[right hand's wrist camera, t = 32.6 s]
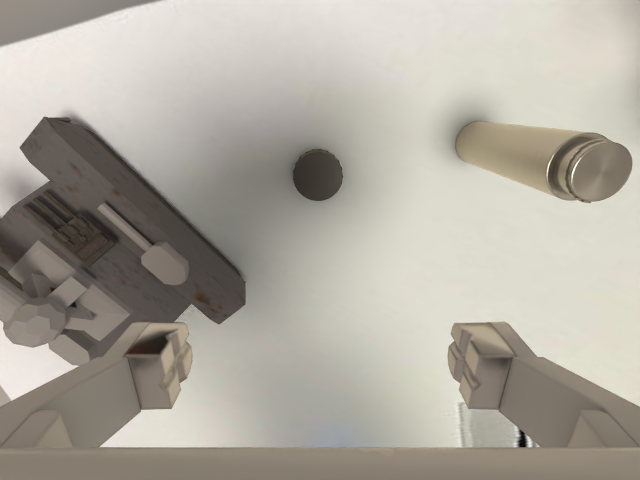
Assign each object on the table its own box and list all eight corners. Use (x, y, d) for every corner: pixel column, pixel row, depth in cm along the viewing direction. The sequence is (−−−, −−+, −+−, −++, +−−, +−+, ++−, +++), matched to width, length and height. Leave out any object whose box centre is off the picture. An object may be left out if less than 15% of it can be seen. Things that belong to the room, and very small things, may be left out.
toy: (253, 282, 42) (221, 370, 28) (149, 365, 47) (76, 477, 33) (79, 114, 35) (-82, 121, 21) (-24, 233, 40) (-211, 303, 26)
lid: (348, 187, 38) (349, 191, 36) (304, 203, 38) (303, 208, 37) (332, 141, 36) (333, 143, 34) (286, 159, 37) (285, 161, 35)
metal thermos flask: (461, 118, 35) (582, 130, 19) (501, 124, 35) (654, 140, 19) (450, 160, 37) (552, 203, 21) (488, 165, 37) (619, 212, 21)
